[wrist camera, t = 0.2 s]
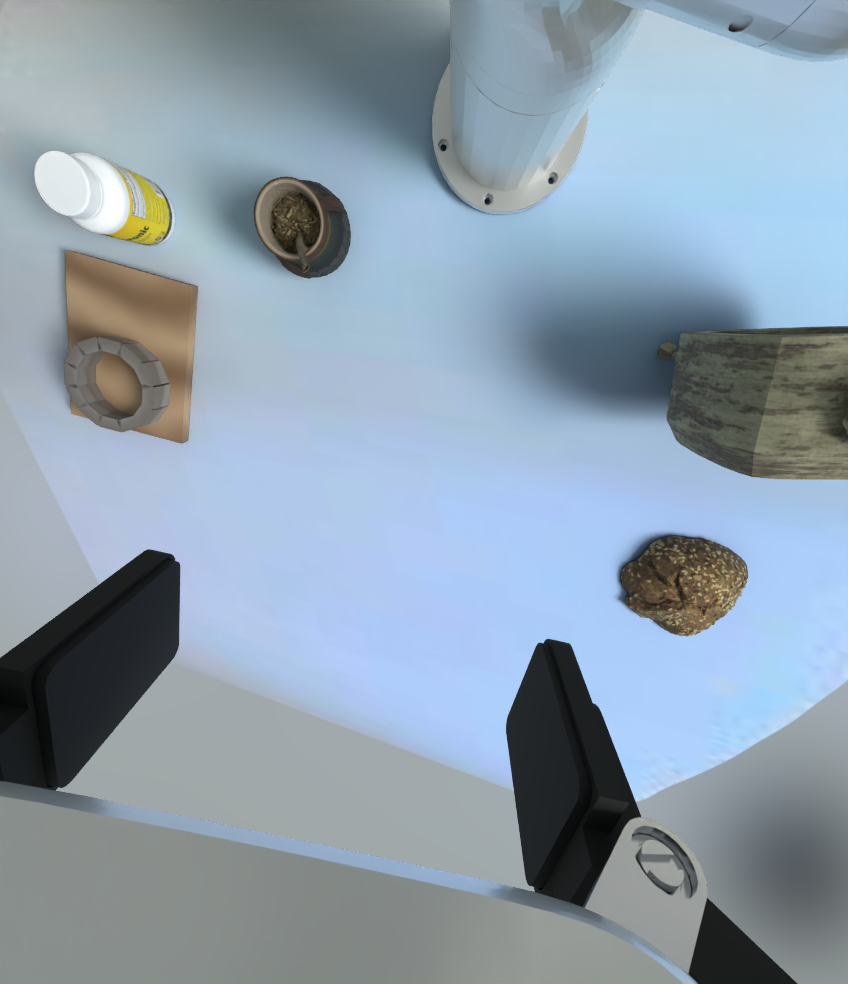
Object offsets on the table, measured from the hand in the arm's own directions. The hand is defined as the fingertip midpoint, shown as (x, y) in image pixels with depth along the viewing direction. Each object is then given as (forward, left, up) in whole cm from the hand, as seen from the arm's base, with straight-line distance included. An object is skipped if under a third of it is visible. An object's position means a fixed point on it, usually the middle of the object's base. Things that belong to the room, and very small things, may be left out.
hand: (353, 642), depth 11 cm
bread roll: (+12, +34, -37) cm, 51 cm away
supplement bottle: (-10, -29, -37) cm, 48 cm away
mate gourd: (-12, -13, -37) cm, 41 cm away
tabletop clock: (-10, +27, -37) cm, 46 cm away
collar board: (+3, -30, -36) cm, 48 cm away
